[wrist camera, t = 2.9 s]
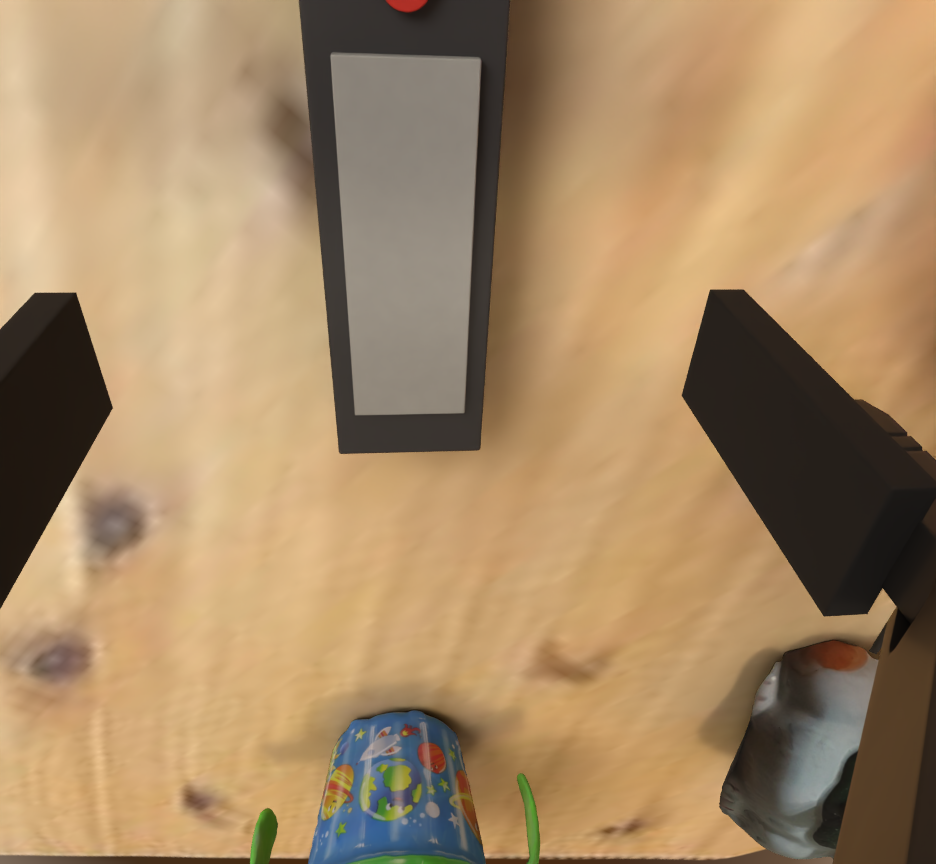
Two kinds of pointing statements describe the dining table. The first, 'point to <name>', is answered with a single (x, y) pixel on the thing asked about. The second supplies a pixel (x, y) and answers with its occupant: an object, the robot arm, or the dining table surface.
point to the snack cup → (397, 799)
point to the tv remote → (406, 210)
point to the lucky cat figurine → (801, 750)
